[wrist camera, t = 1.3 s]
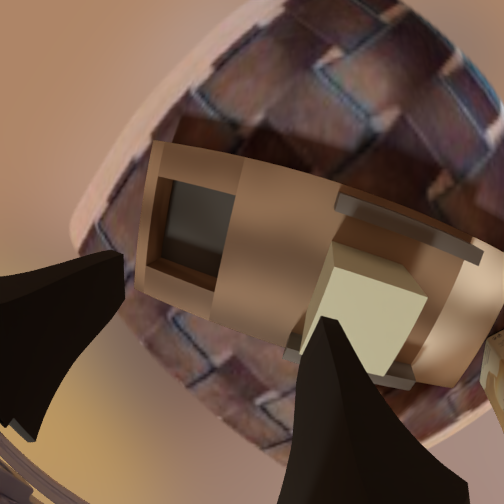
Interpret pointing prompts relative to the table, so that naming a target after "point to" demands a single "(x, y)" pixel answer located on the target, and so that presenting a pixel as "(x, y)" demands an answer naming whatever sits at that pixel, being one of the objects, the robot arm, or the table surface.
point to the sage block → (366, 304)
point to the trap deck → (304, 256)
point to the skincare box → (494, 374)
